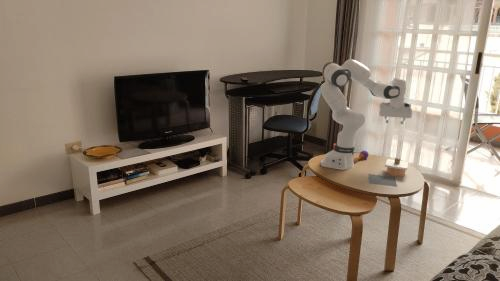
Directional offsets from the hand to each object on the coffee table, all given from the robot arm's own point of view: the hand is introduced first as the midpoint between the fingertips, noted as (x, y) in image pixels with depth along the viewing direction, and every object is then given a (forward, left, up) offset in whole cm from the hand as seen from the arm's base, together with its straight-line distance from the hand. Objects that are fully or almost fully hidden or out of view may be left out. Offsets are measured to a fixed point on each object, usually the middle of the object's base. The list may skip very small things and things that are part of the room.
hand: (394, 123), depth 256 cm
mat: (-6, -32, -29) cm, 44 cm away
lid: (+3, -17, -23) cm, 29 cm away
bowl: (+3, -17, -29) cm, 34 cm away
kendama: (-20, +2, -30) cm, 36 cm away
